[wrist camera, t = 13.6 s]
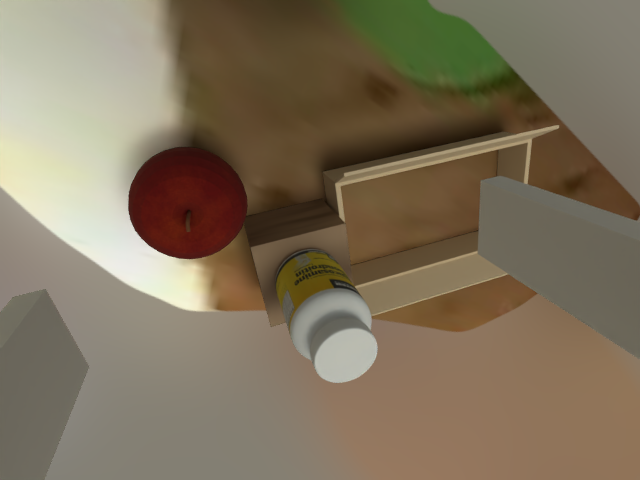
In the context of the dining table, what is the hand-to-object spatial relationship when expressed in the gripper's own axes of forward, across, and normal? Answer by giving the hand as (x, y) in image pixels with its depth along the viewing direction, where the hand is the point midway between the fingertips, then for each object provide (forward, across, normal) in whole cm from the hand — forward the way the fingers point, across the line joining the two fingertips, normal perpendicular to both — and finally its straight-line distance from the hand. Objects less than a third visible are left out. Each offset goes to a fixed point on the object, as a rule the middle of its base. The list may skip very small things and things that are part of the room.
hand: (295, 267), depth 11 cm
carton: (+29, +20, -12) cm, 37 cm away
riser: (+29, +3, -13) cm, 32 cm away
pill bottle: (+21, +3, -13) cm, 25 cm away
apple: (+29, -5, -4) cm, 30 cm away
